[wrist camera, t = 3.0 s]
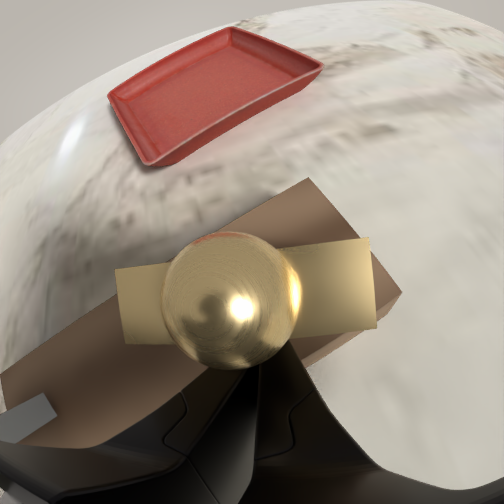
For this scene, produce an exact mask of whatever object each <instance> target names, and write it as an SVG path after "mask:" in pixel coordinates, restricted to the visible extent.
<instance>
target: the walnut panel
mask: <svg viewBox="0 0 504 504" xmlns="http://www.w3.org/2000/svg"><path fill="white" fill-rule="evenodd" d="M225 231H233V232H242V233H247V234H250V235H253V236H256V237H258V238H260V239H262V240H264V241H266V242H267V243H269V244H270V245H272V246H273V247H274V248H275V249H279V248H287V247H295V246H303V245H311V244H319V243H327V242H335V241H343V240H350V239H358V238H360V237H359V236H358V234H357V233H356V232H355V231H354V230H353V228H352V227H351V226H350V225H349V224H348V222H347V221H346V220H345V219H344V218H343V216H342V215H341V214H340V213H339V212H338V210H337V209H336V208H335V207H334V206H333V205H332V203H331V202H330V201H329V200H328V199H327V198H326V197H325V195H324V194H323V193H322V192H321V191H320V190H319V189H318V188H317V186H316V185H315V184H314V183H313V182H312V181H311V180H310V179H309V177H308V178H306V179H304V180H303V181H301V182H299V183H297V184H296V185H294V186H292V187H290V188H289V189H287V190H285V191H283V192H282V193H280V194H278V195H277V196H275V197H273V198H271V199H270V200H268V201H266V202H265V203H263V204H261V205H259V206H258V207H256V208H254V209H253V210H251V211H249V212H248V213H246V214H244V215H243V216H241V217H239V218H238V219H236V220H234V221H233V222H231V223H229V224H228V225H226V226H224V227H223V228H221V229H219V230H218V231H216V232H214V233H217V232H225ZM370 252H371V251H370ZM175 257H176V256H175ZM175 257H174V258H175ZM174 258H172V259H171V260H169V261H167V262H166V263H168V262H172V261H173V260H174ZM371 261H372V270H373V281H374V292H375V305H376V320H377V321H378V320H380V319H381V318H382V317H384V316H385V315H387V314H388V312H389V311H390V309H391V308H392V307H393V305H394V304H395V302H396V301H397V299H398V298H399V296H400V295H401V293H402V291H401V290H400V288H399V287H398V286H397V284H396V283H395V282H394V280H393V279H392V278H391V276H390V275H389V274H388V272H387V271H386V270H385V269H384V267H383V266H382V265H381V263H380V262H379V261H378V259H377V258H376V257H375V256H374V254H373V253H372V252H371ZM363 331H364V330H362V331H355V332H347V333H339V334H331V335H322V336H313V337H303V338H292V339H289V340H290V342H291V344H292V345H293V347H294V349H295V351H296V353H297V354H298V356H299V358H300V360H301V362H302V363H303V365H304V367H305V368H306V367H308V366H310V365H311V364H313V363H315V362H316V361H318V360H320V359H321V358H323V357H324V356H326V355H328V354H329V353H331V352H332V351H334V350H335V349H337V348H339V347H340V346H342V345H343V344H345V343H346V342H348V341H349V340H351V339H352V338H354V337H355V336H357V335H358V334H360V333H361V332H363ZM207 368H208V366H205V365H203V364H201V363H198V362H196V361H195V360H193V359H191V358H190V357H189V356H187V355H186V354H185V353H183V352H182V351H181V350H180V349H179V348H178V346H177V345H176V344H125V339H124V333H123V328H122V321H121V315H120V309H119V302H118V294H116V295H114V296H113V297H111V298H110V299H108V300H107V301H105V302H104V303H102V304H101V305H99V306H98V307H96V308H95V309H93V310H92V311H90V312H89V313H87V314H86V315H84V316H83V317H81V318H80V319H78V320H77V321H75V322H74V323H72V324H71V325H69V326H68V327H66V328H65V329H64V330H62V331H61V332H59V333H58V334H56V335H55V336H53V337H52V338H50V339H49V340H48V341H46V342H45V343H43V344H42V345H40V346H39V347H38V348H36V349H35V350H33V351H32V352H30V353H29V354H28V355H26V356H25V357H23V358H22V359H21V360H19V361H18V362H16V363H15V364H14V365H12V366H11V367H9V368H8V369H7V370H5V371H4V372H3V373H1V374H0V378H1V384H2V390H3V395H4V400H5V405H6V409H7V411H8V410H10V409H12V408H14V407H16V406H18V405H20V404H22V403H24V402H26V401H28V400H29V399H31V398H33V397H35V396H37V395H39V394H41V393H44V395H45V396H46V398H47V400H48V401H49V403H50V405H51V406H52V408H53V410H54V411H55V413H56V414H57V416H56V417H55V418H53V419H52V420H50V421H49V422H47V423H46V424H44V425H43V426H41V427H40V428H38V429H37V430H35V431H34V432H32V433H31V434H29V435H28V436H26V437H25V438H23V439H22V440H20V441H19V442H17V443H16V444H23V445H32V446H42V447H56V448H88V447H93V446H96V445H99V444H101V443H103V442H105V441H107V440H108V439H110V438H112V437H113V436H115V435H117V434H118V433H120V432H122V431H123V430H125V429H127V428H128V427H130V426H132V425H133V424H135V423H136V422H138V421H140V420H141V419H143V418H144V417H146V416H147V415H149V414H150V413H152V412H153V411H155V410H156V409H157V408H159V407H160V406H161V405H163V404H164V403H165V402H167V401H168V400H169V399H171V398H172V397H173V396H174V395H175V394H177V393H178V392H181V390H182V389H183V388H184V387H185V386H187V385H188V384H189V383H190V382H191V381H193V380H194V379H195V378H196V377H198V376H199V375H200V374H201V373H202V372H203V371H205V370H206V369H207Z"/></svg>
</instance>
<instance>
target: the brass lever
mask: <svg viewBox="0 0 504 504" xmlns="http://www.w3.org/2000/svg"><path fill="white" fill-rule="evenodd" d="M114 270H115V278H116V287H117V294H118V302H119V309H120V315H121V321H122V328H123V333H124V339H125V344H176V345H177V346H178V348H179V349H180V350H181V351H182V352H183V353H185V354H186V355H187V356H189V357H190V358H191V359H193V360H195V361H196V362H198V363H201V364H203V365H205V366H208V367H211V368H214V369H220V370H240V369H246V368H250V367H253V366H256V365H258V364H260V363H262V362H264V361H266V360H267V359H269V358H270V357H272V356H273V355H274V354H276V353H277V352H278V351H279V350H280V349H281V348H282V347H283V346H284V344H285V343H286V342H287V340H288V339H292V338H303V337H313V336H322V335H331V334H339V333H347V332H355V331H362V330H369V329H376V328H377V320H376V305H375V292H374V281H373V270H372V261H371V252H370V244H369V237H366V238H358V239H350V240H343V241H335V242H327V243H319V244H311V245H303V246H295V247H287V248H279V249H275V248H274V247H273V246H272V245H270V244H269V243H267V242H266V241H264V240H262V239H260V238H258V237H256V236H253V235H250V234H247V233H242V232H233V231H225V232H217V233H212V234H209V235H206V236H203V237H201V238H199V239H197V240H195V241H193V242H191V243H190V244H189V245H187V246H186V247H185V248H184V249H183V250H182V251H181V252H179V254H178V255H177V256H176V257H175V258H174V260H173V261H172V262H168V263H160V264H152V265H144V266H137V267H129V268H121V269H114Z"/></svg>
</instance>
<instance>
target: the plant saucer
mask: <svg viewBox="0 0 504 504" xmlns="http://www.w3.org/2000/svg"><path fill="white" fill-rule="evenodd" d="M323 68H324V64H323V63H321V62H320V61H318V60H315V59H313V58H311V57H309V56H307V55H305V54H303V53H300V52H298V51H296V50H294V49H291V48H289V47H287V46H285V45H282V44H279V43H277V42H275V41H273V40H269V39H267V38H265V37H262V36H259V35H257V34H254V33H251V32H248V31H246V30H243V29H240V28H237V27H233V26H231V27H226V28H224V29H221V30H219V31H217V32H215V33H212V34H210V35H208V36H206V37H204V38H202V39H200V40H197V41H195V42H193V43H191V44H189V45H187V46H185V47H183V48H181V49H179V50H178V51H176V52H174V53H172V54H170V55H168V56H166V57H164V58H163V59H161V60H159V61H157V62H156V63H154V64H152V65H150V66H149V67H147V68H145V69H144V70H142V71H140V72H139V73H137V74H135V75H134V76H132V77H131V78H129V79H128V80H126V81H125V82H123V83H121V84H120V85H119V86H117V87H115V88H114V89H113V90H111V91H110V92H109V93H108V94H107V97H108V99H109V101H110V104H111V105H112V107H113V109H114V111H115V113H116V116H117V117H118V119H119V121H120V122H121V124H122V126H123V128H124V130H125V132H126V133H127V135H128V137H129V139H130V141H131V143H132V145H133V146H134V148H135V150H136V152H137V154H138V156H139V157H140V159H141V161H142V163H143V164H144V165H147V166H165V165H171V164H175V163H177V162H179V161H181V160H182V159H184V158H185V157H187V156H188V155H190V154H191V153H193V152H194V151H196V150H198V149H199V148H201V147H202V146H204V145H205V144H207V143H209V142H210V141H212V140H213V139H215V138H217V137H218V136H220V135H222V134H223V133H225V132H227V131H228V130H230V129H232V128H233V127H235V126H237V125H238V124H240V123H242V122H244V121H245V120H247V119H249V118H251V117H252V116H254V115H256V114H258V113H259V112H261V111H263V110H265V109H267V108H269V107H271V106H272V105H274V104H276V103H278V102H280V101H282V100H284V99H286V98H288V97H290V96H292V95H294V94H296V93H297V92H299V91H301V90H302V89H304V88H305V87H306V86H307V85H308V84H309V83H310V82H312V81H313V80H314V79H315V78H316V77H317V75H318V74H319V73H320V72H321V71H322V69H323Z"/></svg>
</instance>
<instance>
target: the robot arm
mask: <svg viewBox="0 0 504 504" xmlns="http://www.w3.org/2000/svg"><path fill="white" fill-rule="evenodd" d="M0 487H1V488H2V489H3V490H4V491H5V492H4V493H3V495H2V496H1V498H0V504H504V477H503V478H500V479H498V480H496V481H493V482H491V483H489V484H486V485H483V486H480V487H477V488H473V489H466V490H450V489H444V488H440V487H437V486H433V485H430V484H426V483H423V482H420V481H417V480H414V479H411V478H408V477H405V476H402V475H399V474H396V473H393V472H390V471H388V470H386V469H384V468H382V467H380V466H379V465H378V464H376V463H375V462H374V461H373V460H372V459H371V458H370V457H369V456H368V455H367V454H366V453H365V451H364V450H363V449H362V448H361V447H360V446H359V445H358V443H357V442H356V441H355V440H354V439H353V438H352V437H351V435H350V434H349V433H348V432H347V431H346V430H345V429H344V427H343V426H342V425H341V424H340V423H339V421H338V420H337V419H336V417H335V416H334V415H333V414H332V412H331V411H330V410H329V408H328V406H327V405H326V403H325V402H324V400H323V399H322V397H321V395H320V393H319V391H318V390H317V388H316V386H315V385H314V383H313V381H312V379H311V378H310V376H309V374H308V372H307V370H306V369H305V367H304V365H303V363H302V362H301V360H300V358H299V356H298V354H297V353H296V351H295V349H294V347H293V345H292V344H291V342H290V340H289V339H288V340H287V342H286V343H285V344H284V346H283V347H282V348H281V349H280V350H279V351H278V352H277V353H276V354H274V355H273V356H272V357H270V358H269V359H267V360H266V361H264V362H262V363H260V364H258V365H256V366H253V367H250V368H246V369H240V370H220V369H214V368H211V367H208V368H207V369H206V370H205V371H203V372H202V373H201V374H200V375H199V376H198V377H196V378H195V379H194V380H193V381H191V382H190V383H189V384H188V385H187V386H185V387H184V388H183V389H182V390H181V392H178V393H177V394H175V395H174V396H173V397H172V398H171V399H169V400H168V401H167V402H165V403H164V404H163V405H161V406H160V407H159V408H157V409H156V410H155V411H153V412H152V413H150V414H149V415H147V416H146V417H144V418H143V419H141V420H140V421H138V422H136V423H135V424H133V425H132V426H130V427H128V428H127V429H125V430H123V431H122V432H120V433H118V434H117V435H115V436H113V437H112V438H110V439H108V440H107V441H105V442H103V443H101V444H99V445H96V446H93V447H88V448H56V447H42V446H32V445H23V444H15V443H9V442H5V441H0Z"/></svg>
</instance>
